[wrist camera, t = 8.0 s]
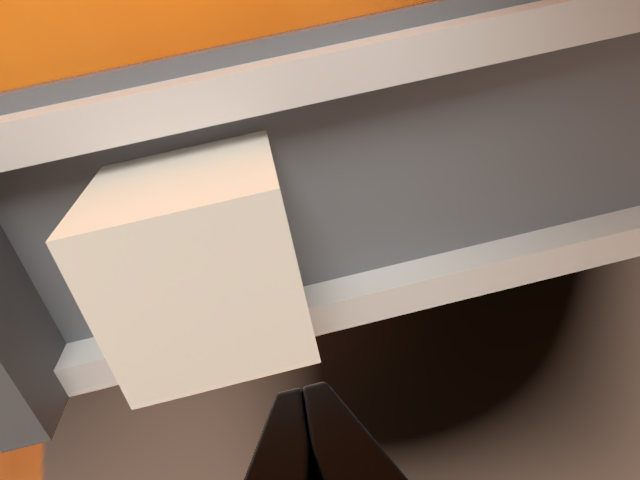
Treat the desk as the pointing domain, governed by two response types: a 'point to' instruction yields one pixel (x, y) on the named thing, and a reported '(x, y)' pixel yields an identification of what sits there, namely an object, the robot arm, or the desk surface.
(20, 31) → the desk surface
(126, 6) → the desk surface
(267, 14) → the desk surface
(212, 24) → the desk surface
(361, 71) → the rail board
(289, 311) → the block
